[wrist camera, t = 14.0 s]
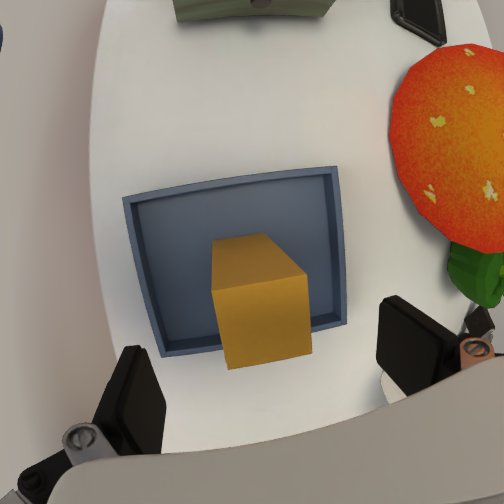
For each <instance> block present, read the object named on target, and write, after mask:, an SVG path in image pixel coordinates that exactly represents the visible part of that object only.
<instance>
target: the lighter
mask: <svg viewBox="0 0 504 504" xmlns="http://www.w3.org/2000/svg"><path fill="white" fill-rule="evenodd" d="M464 321H465V323H466V326H467V329H468V331H469V333H463V334H462V335H461V336H460V337H459V338H458V340H457V343H458V344H459V345H460V344H461V342H462V341H463V340H465V339H467V338H472V337H477V338H482V339H485V340H487V341H488V342H490V343H491V341H492V339H493V335H492V334H491V333H492V332H493V331H494V330H495V326H494V323H493V321H492V319H491V317H490V315H489V312H488V310H487V309H486V308H484V307H482V306H480V305H479V306H478V307H477V308H476V309H475V310H474V311H473V312H472V313H471V314H470V315H469V316H468V317H467V318H466V319H465V320H464Z"/></svg>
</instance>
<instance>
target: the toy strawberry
mask: <svg viewBox="0 0 504 504" xmlns="http://www.w3.org/2000/svg"><path fill="white" fill-rule="evenodd" d="M389 138H390V142H391V146H392V150H393V155H394V159H395V164H396V169H397V174H398V177H399V179H400V180H401V182H402V183H403V185H404V187H405V189H406V190H407V192H408V194H409V195H410V197H411V199H412V201H413V202H414V204H415V206H416V208H417V209H418V211H419V213H420V214H421V215H422V216H424V217H425V218H426V219H427V220H428V221H429V222H430V223H432V224H433V225H434V226H435V227H436V228H437V229H438V230H439V231H441V232H442V233H443V234H444V235H445V236H446V237H447V238H448V239H449V240H451V241H453V242H456V243H459V244H462V245H464V246H467V247H470V248H472V249H475V250H478V251H480V252H483V253H486V254H488V253H499V252H504V53H503V52H500V51H496V50H493V49H490V48H487V47H483V46H479V45H476V44H463V45H456V46H449V47H442V48H437V49H436V50H435V51H433V52H432V53H430V54H429V55H427V56H426V57H424V58H423V59H421V60H420V61H419V62H417V63H416V64H414V65H413V66H412V67H410V69H409V71H408V73H407V74H406V76H405V78H404V80H403V82H402V83H401V85H400V87H399V89H398V91H397V92H396V94H395V96H394V98H393V107H392V116H391V125H390V132H389Z"/></svg>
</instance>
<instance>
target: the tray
mask: <svg viewBox="0 0 504 504" xmlns="http://www.w3.org/2000/svg"><path fill="white" fill-rule="evenodd" d="M122 200H123V206H124V212H125V218H126V223H127V228H128V233H129V238H130V243H131V248H132V253H133V257H134V262H135V266H136V270H137V274H138V279H139V283H140V287H141V290H142V294H143V298H144V302H145V306H146V309H147V313H148V316H149V320H150V323H151V327H152V330H153V333H154V336H155V340H156V343H157V346H158V349H159V352H160V355H161V358H164V357H167V356H168V357H172V356H181V355H189V354H196V353H204V352H211V351H217V350H223V345H222V341H221V336H220V331H219V326H218V322H217V317H216V312H215V307H214V302H213V297H212V292H211V289H212V247H213V241H215V240H221V239H227V238H233V237H240V236H246V235H252V234H259V233H265V234H266V235H267V236H268V237H269V238H270V239H271V240H272V241H273V242H274V243H275V244H276V245H277V246H278V247H279V248H281V249H282V250H283V251H284V252H285V253H286V254H287V255H288V256H289V257H290V258H291V259H292V260H293V261H294V262H295V263H296V264H297V265H298V266H299V267H300V268H301V269H302V270H303V271H304V272H305V273H306V274H307V280H308V293H309V307H310V322H311V333H313V332H317V331H321V330H325V329H330V328H334V327H338V326H341V325H346V324H347V293H346V265H345V246H344V231H343V218H342V207H341V197H340V187H339V178H338V170H337V166H327V167H316V168H305V169H295V170H286V171H277V172H268V173H260V174H252V175H245V176H238V177H231V178H224V179H217V180H211V181H205V182H199V183H193V184H187V185H181V186H176V187H171V188H165V189H160V190H155V191H150V192H145V193H140V194H135V195H131V196H126V197H122Z"/></svg>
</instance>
